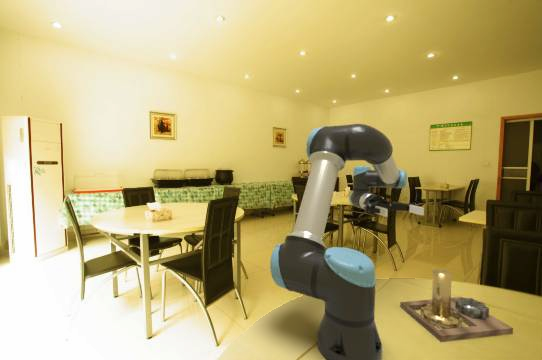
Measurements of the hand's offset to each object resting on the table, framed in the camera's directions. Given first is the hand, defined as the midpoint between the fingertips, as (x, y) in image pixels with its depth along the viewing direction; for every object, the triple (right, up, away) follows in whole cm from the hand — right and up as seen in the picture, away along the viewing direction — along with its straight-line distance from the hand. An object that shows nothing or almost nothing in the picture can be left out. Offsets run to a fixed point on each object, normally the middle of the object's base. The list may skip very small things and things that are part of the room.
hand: (404, 212), depth 88 cm
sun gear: (+12, -27, -14) cm, 33 cm away
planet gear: (+3, -29, -15) cm, 33 cm away
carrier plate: (+6, -29, -14) cm, 33 cm away
